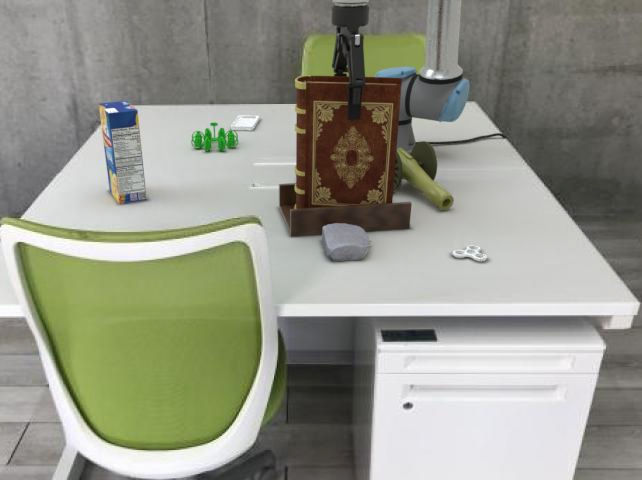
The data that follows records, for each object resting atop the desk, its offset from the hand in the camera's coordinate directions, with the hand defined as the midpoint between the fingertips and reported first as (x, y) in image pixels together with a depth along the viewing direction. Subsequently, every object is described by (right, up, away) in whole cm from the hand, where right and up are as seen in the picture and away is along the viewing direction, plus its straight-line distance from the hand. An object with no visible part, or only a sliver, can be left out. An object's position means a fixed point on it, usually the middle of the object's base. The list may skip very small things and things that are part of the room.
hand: (346, 111), depth 156 cm
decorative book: (0, -20, +12) cm, 24 cm away
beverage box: (-53, -13, +27) cm, 61 cm away
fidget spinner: (+25, -32, -6) cm, 41 cm away
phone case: (-25, +22, +86) cm, 92 cm away
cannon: (+20, -13, +25) cm, 35 cm away
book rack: (0, -21, +12) cm, 24 cm away
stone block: (0, -30, -3) cm, 31 cm away
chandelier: (-34, +9, +64) cm, 73 cm away
